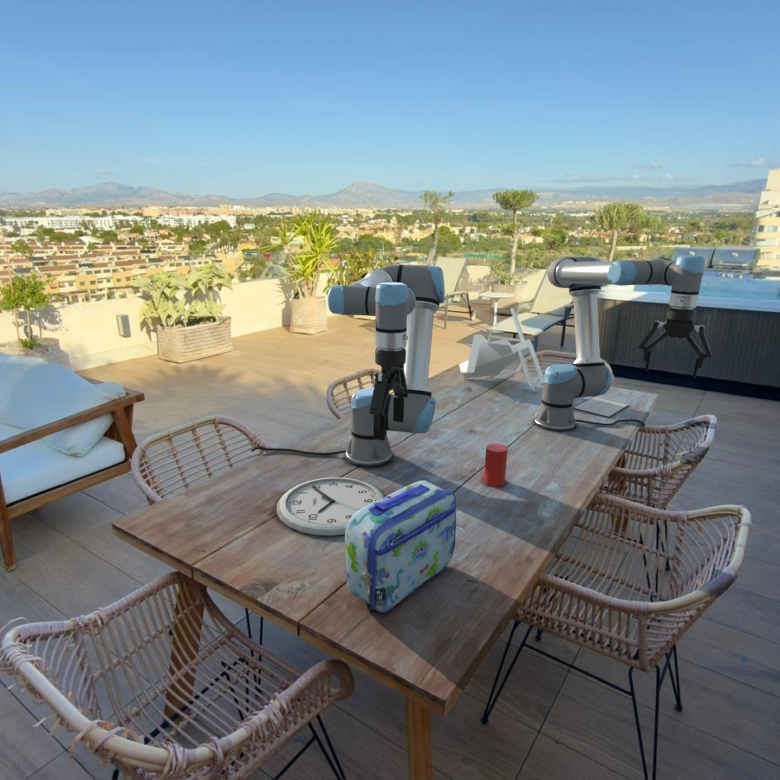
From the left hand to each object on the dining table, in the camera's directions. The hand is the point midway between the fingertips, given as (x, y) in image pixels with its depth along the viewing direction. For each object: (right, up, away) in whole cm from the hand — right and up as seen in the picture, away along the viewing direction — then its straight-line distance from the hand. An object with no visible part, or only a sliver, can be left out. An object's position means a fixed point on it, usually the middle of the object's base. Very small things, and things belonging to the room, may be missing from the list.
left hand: (389, 430), depth 133 cm
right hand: (+89, +15, +34) cm, 97 cm away
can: (+32, -18, +25) cm, 44 cm away
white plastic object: (+53, +12, +122) cm, 133 cm away
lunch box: (+3, -31, -21) cm, 38 cm away
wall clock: (-16, -21, +10) cm, 28 cm away
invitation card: (+92, +3, +94) cm, 131 cm away
